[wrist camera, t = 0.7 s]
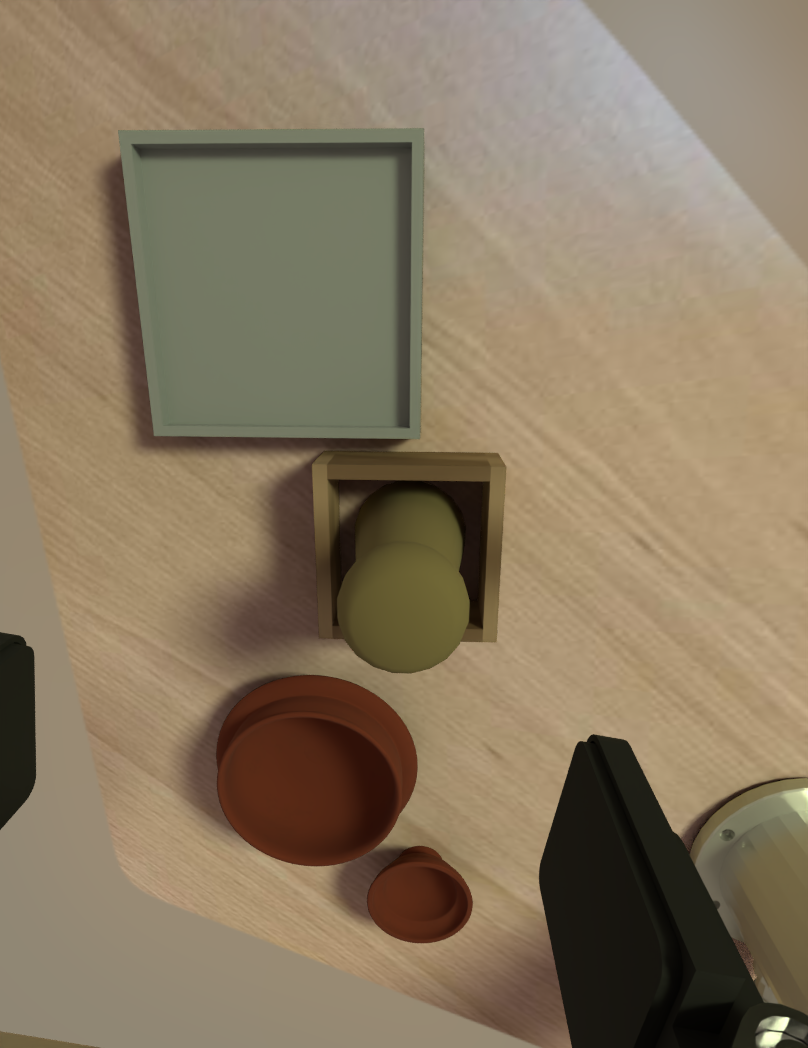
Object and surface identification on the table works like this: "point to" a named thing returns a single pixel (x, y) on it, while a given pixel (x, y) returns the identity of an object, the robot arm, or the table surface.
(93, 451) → the table surface
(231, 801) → the pottery
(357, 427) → the tray
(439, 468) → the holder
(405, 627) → the olive pawn
